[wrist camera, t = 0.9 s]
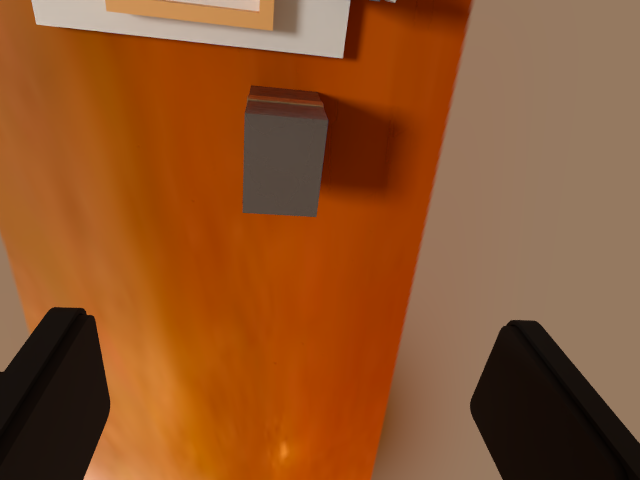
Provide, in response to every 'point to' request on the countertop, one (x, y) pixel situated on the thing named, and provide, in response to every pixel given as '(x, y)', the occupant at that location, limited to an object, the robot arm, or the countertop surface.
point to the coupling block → (283, 151)
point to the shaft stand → (212, 21)
